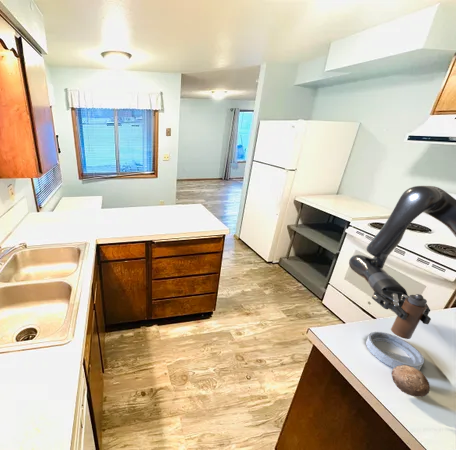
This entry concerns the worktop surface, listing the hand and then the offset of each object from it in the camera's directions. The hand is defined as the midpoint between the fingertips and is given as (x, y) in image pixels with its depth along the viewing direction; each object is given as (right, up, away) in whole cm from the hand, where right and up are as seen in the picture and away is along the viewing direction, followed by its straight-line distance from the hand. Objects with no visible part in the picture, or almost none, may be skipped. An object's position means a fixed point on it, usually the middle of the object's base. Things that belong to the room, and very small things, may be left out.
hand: (416, 319), depth 71 cm
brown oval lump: (-5, -19, -1) cm, 20 cm away
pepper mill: (+1, -6, +5) cm, 8 cm away
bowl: (+1, -15, +9) cm, 18 cm away
